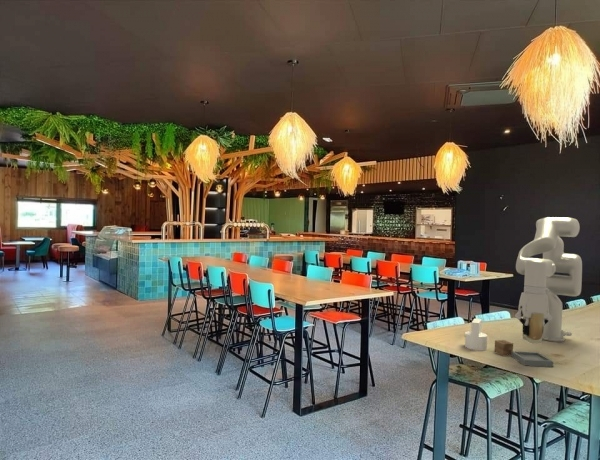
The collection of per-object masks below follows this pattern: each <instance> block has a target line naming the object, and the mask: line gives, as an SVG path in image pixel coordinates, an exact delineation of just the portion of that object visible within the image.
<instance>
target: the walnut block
mask: <svg viewBox="0 0 600 460" xmlns="http://www.w3.org/2000/svg"><path fill="white" fill-rule="evenodd" d="M511 351H514V343H513V342H510V341H507V340H506V339H502V340H498V339H497V340H494V351H493V352H494V353H497V354H499V355H501V356H502V357H504V356H511Z"/></svg>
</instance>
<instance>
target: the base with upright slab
mask: <svg viewBox="0 0 600 460" xmlns="http://www.w3.org/2000/svg"><path fill="white" fill-rule="evenodd" d="M482 320H483V319H481V318H473V320H472V321H471V329H470V331H469V330H468V331H465V332H464V333H465V335H464V337H465V338H464V347H465V348H466V347H467V349H469V350H472V349H473V351H478V350H479V351H487V348H488V334H486V333H484V332H482V324H483V321H482Z"/></svg>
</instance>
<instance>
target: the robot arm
mask: <svg viewBox="0 0 600 460" xmlns="http://www.w3.org/2000/svg"><path fill="white" fill-rule="evenodd" d="M535 227H536V230H535V235H534V239H533V240H532V241H530V242H528V243H527V244H525V245H523V247H522V248H521V249H520V250H519V252H518V254H517V255H518V256H517V259H516V262H515V270H516V272H517V273H518V274H520V275H523V276H524V281H523V282H524V284H523V285H524V287H523V292H521V294H520V298H519V302H518V311H517V312H516V313H515V315H514V318H516V319H517V320H518V321H519V322H520V324H521V325H522V329H521V330H522V335H523V334H525V335H527V336H528V335H529V326H528V323H529V319H531V317H532V313H542V314H544V317H543V333H542V341H549V342H557V343H558V342H559V343H560V342H565V340H566V339H565V337H571V336H572V334H573V333H572V331H565V330H564V329H563V330H562V323H563V308H564V307H563V305H564V304H563V302H562V300H561V299H560V298H559V295H560V296H567V297H577V296H580V295H581V293H582V287H583V286H582V283H583V282H582V281H583V280H582V279H583V261H582V258H581V256H580V255H579V254H576V253H566V252H564V251H565V250H564V249H565V247H564V246H565V244H564V241H563V239H562V238H561V237H565V238H566V237H568V238H570V237H571V238H575V237H577V236H578V235H579V233H580V228H581V227H580V223H579V221H578V219H576V218H573V217H564V216H563V217H559V216H558V217H557V216H555V217H554V216H552V217H550V216H547V217H542V218H540V219H538V220H536V222H535ZM540 254H542V258H538V257H533V256H536V255H540ZM555 273H558V274H555ZM559 273H562V274H567V275H561V274H559Z"/></svg>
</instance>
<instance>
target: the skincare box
mask: <svg viewBox="0 0 600 460" xmlns="http://www.w3.org/2000/svg"><path fill="white" fill-rule="evenodd" d="M543 317H544V314H542V313H532V317H531V319H529V323H528V326H529V335H528V336H527V335H525V334H523V333H522V340H524V341H526V342H528V343H530V344H541V345H543V344H542V343H543V339H542V333H543Z"/></svg>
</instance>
